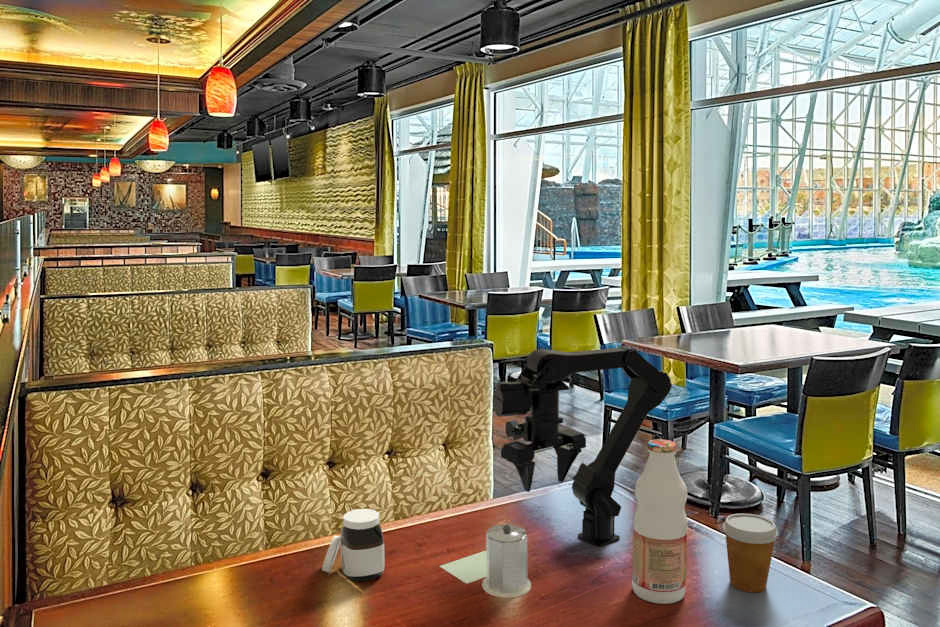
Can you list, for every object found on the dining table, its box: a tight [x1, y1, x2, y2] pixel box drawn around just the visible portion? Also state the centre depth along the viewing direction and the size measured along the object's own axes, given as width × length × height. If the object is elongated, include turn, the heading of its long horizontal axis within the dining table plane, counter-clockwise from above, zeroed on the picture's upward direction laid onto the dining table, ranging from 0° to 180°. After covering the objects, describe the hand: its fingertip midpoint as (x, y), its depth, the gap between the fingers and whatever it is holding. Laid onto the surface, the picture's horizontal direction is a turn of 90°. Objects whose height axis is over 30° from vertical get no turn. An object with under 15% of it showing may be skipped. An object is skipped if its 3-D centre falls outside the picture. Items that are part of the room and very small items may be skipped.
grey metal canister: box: [485, 523, 528, 593], centre depth 139 cm, size 7×7×11 cm
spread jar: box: [321, 508, 386, 582], centre depth 145 cm, size 12×11×12 cm
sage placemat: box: [439, 550, 529, 585], centre depth 148 cm, size 15×9×1 cm, turn 127°
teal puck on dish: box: [481, 577, 532, 599], centre depth 139 cm, size 9×9×3 cm
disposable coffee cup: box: [722, 513, 779, 593], centre depth 139 cm, size 10×10×12 cm
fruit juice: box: [631, 438, 688, 605], centre depth 135 cm, size 9×9×28 cm
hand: (544, 486), depth 155 cm, fingers open, 9 cm apart
